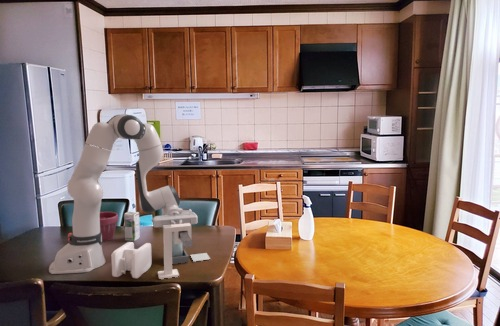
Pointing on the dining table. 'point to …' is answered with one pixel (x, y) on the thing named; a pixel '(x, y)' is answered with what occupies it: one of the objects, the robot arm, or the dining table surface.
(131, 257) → the cable organizer
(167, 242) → the stand
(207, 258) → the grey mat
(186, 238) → the bolt
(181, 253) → the pale blue bottle
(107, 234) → the plant pot
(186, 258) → the socket collar
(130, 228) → the syrup box
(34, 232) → the dining table surface
